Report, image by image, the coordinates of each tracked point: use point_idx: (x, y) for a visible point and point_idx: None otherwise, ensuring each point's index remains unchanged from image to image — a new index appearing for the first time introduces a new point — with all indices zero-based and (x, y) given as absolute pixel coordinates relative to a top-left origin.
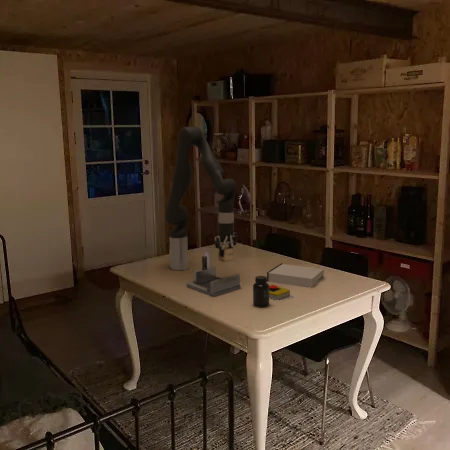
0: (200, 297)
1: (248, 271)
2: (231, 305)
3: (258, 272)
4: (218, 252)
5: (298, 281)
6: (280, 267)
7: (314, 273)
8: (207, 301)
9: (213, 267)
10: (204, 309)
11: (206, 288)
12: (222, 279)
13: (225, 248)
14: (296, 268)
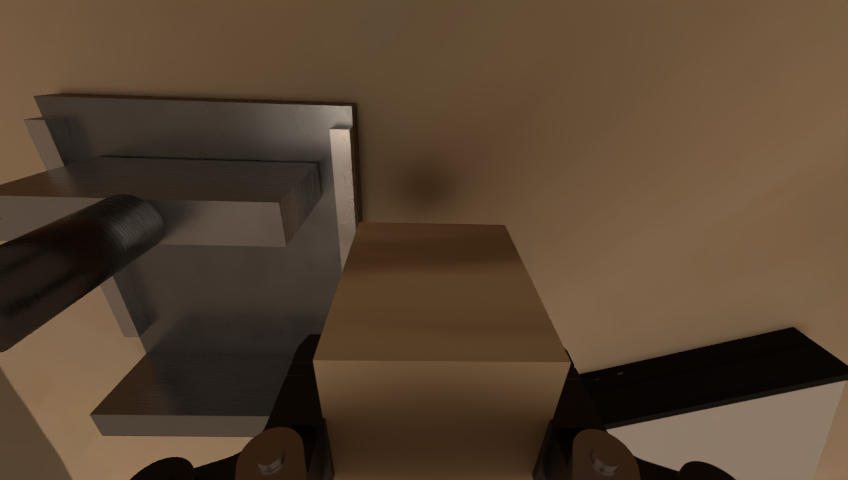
0: (91, 322)
1: (712, 169)
2: (193, 459)
3: (717, 240)
4: (334, 301)
5: None
6: (748, 410)
7: None
8: (107, 379)
9: (253, 244)
10: (55, 428)
11: (125, 329)
12: (194, 431)
13: (431, 441)
14: (762, 466)
